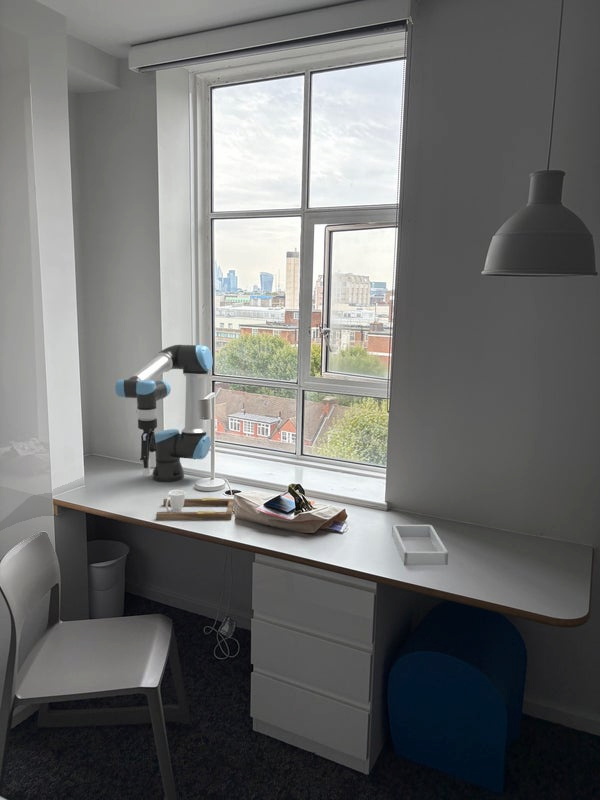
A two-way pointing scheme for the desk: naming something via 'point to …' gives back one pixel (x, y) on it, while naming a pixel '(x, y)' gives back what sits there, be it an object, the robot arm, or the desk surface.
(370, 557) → the desk surface
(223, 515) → the channel
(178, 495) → the cup
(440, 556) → the tray
